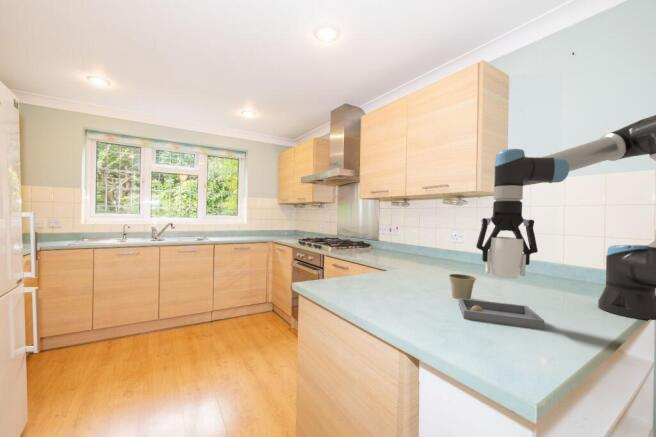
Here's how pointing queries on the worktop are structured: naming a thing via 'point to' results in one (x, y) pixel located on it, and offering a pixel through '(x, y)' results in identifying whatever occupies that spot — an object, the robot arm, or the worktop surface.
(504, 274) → the cup
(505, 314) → the tray
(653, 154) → the robot arm
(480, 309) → the ball
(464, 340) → the worktop surface
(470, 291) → the flower pot
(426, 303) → the worktop surface
